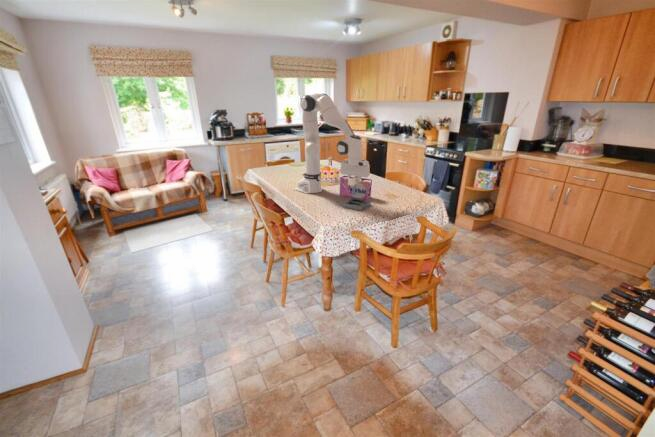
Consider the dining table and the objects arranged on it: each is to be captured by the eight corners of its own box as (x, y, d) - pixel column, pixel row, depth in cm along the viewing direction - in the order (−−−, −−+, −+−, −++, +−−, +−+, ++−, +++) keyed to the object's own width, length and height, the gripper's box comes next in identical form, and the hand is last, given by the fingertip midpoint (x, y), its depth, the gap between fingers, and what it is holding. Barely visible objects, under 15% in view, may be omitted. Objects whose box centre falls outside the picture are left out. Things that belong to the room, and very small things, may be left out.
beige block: (347, 187, 196) (348, 178, 193) (355, 183, 204) (355, 174, 202) (353, 188, 194) (353, 179, 191) (360, 184, 202) (360, 175, 200)
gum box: (372, 197, 220) (373, 179, 214) (368, 200, 214) (369, 182, 208) (344, 192, 231) (344, 175, 226) (339, 195, 225) (339, 177, 219)
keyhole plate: (342, 207, 201) (343, 203, 200) (352, 201, 212) (352, 197, 211) (361, 211, 194) (361, 207, 193) (370, 204, 205) (370, 201, 204)
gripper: (338, 160, 195) (338, 180, 200) (366, 164, 185) (366, 185, 190) (343, 158, 200) (343, 178, 205) (371, 162, 190) (370, 182, 195)
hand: (354, 181), depth 198 cm, fingers closed on beige block, 4 cm apart
